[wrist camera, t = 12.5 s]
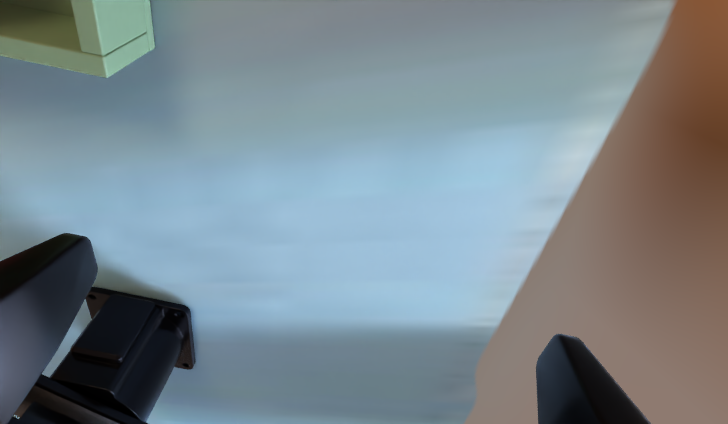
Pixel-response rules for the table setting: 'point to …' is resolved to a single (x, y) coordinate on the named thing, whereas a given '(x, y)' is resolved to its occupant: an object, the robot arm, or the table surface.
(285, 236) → the table surface
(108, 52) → the green bin
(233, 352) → the table surface
